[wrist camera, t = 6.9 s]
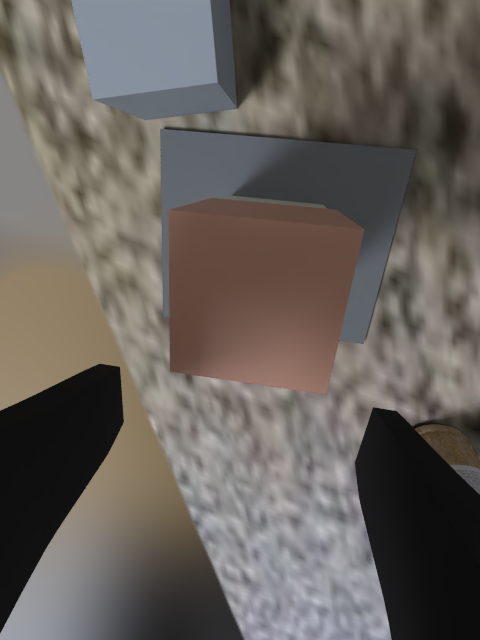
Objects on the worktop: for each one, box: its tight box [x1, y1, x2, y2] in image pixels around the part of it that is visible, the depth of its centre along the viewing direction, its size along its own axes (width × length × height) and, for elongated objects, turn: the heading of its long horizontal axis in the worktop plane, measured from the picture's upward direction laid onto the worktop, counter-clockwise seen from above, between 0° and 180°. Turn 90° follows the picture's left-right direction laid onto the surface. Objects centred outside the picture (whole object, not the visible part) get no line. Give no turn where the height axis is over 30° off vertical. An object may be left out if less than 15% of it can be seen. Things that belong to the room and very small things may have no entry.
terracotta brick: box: [168, 198, 365, 394], centre depth 11 cm, size 5×5×5 cm
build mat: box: [160, 129, 417, 344], centre depth 17 cm, size 12×10×1 cm
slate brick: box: [72, 0, 237, 120], centre depth 13 cm, size 5×5×5 cm
